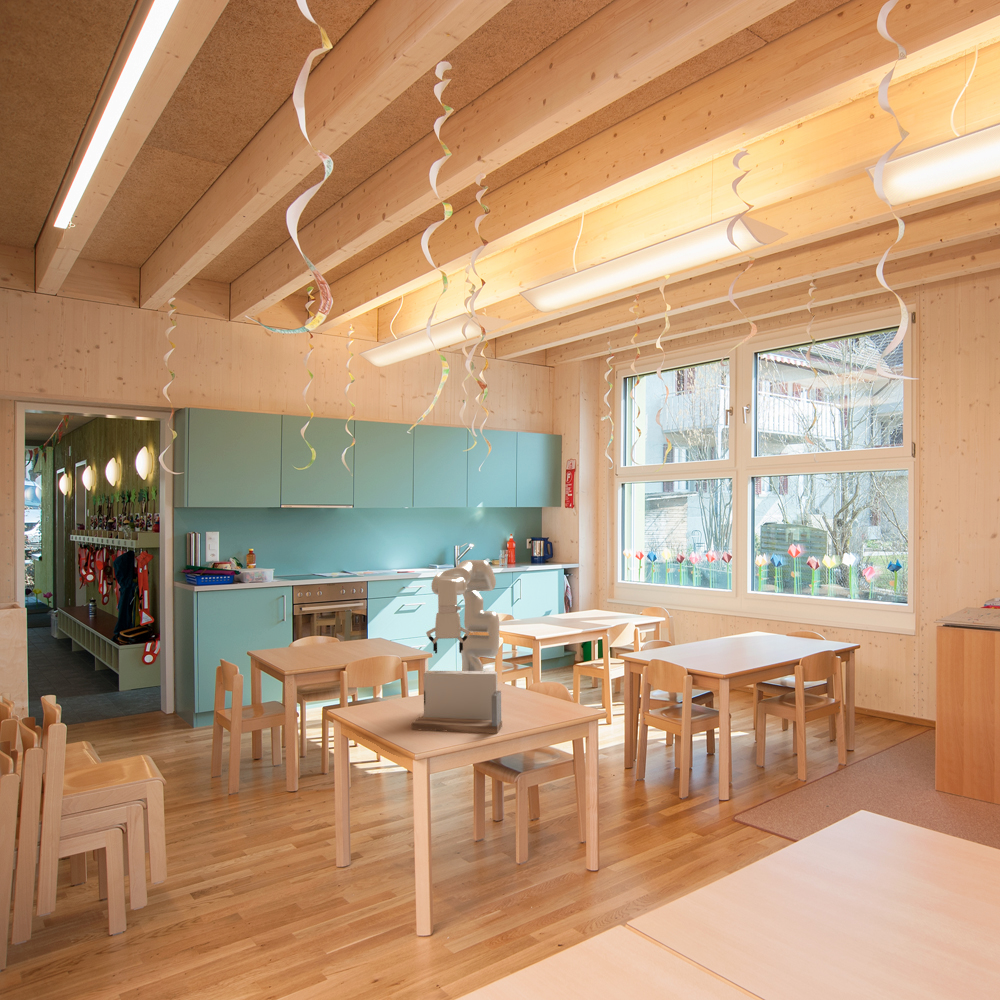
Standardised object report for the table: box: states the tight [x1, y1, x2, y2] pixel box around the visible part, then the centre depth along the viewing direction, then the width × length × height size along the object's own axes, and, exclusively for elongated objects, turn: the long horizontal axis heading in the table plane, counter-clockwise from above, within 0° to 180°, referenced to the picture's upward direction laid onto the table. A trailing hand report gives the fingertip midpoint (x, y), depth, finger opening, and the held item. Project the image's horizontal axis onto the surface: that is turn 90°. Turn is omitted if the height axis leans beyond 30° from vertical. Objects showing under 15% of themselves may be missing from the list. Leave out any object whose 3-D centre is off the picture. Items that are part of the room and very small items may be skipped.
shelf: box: [411, 716, 503, 734], centre depth 309 cm, size 10×35×2 cm, turn 79°
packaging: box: [423, 670, 499, 720], centre depth 322 cm, size 30×6×20 cm, turn 84°
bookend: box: [492, 690, 502, 727], centre depth 306 cm, size 9×2×12 cm, turn 169°
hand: (448, 652), depth 307 cm, fingers open, 9 cm apart
